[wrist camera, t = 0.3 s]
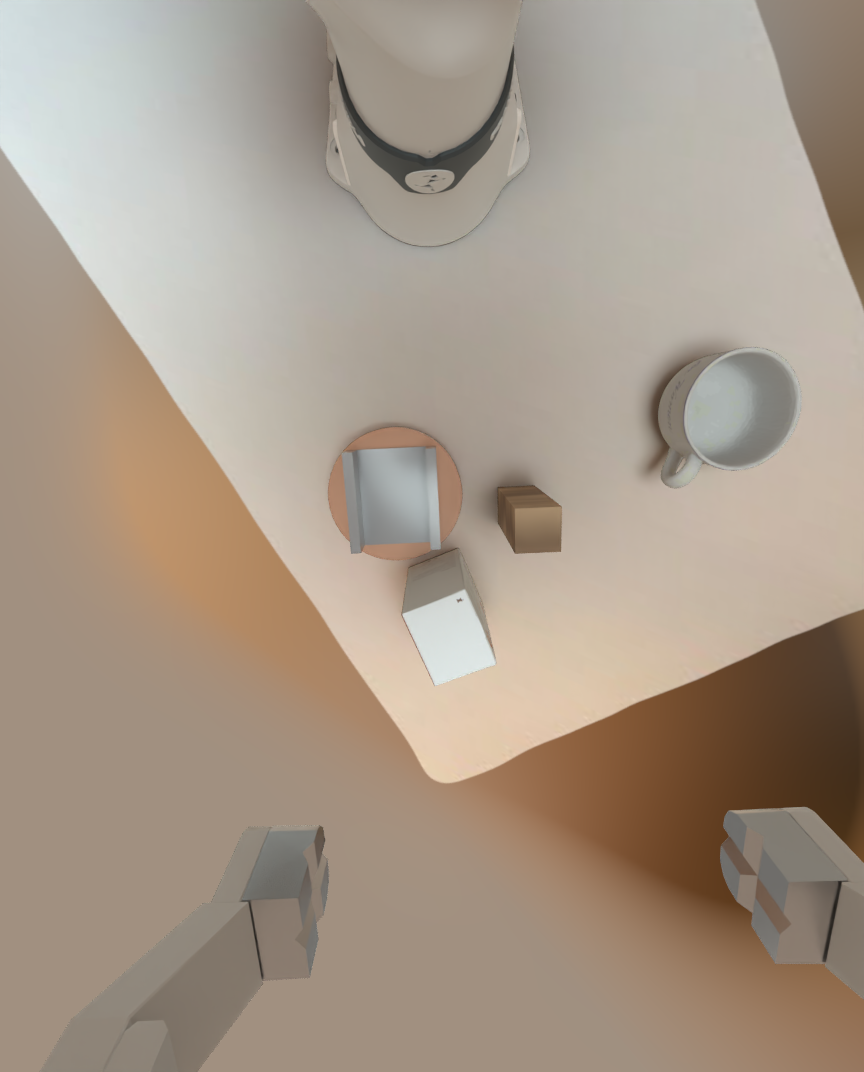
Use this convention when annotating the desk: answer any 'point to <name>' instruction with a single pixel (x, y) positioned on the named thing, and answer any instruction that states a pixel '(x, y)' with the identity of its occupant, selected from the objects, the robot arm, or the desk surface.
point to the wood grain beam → (529, 519)
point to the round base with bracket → (395, 494)
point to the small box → (447, 618)
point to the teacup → (728, 412)
